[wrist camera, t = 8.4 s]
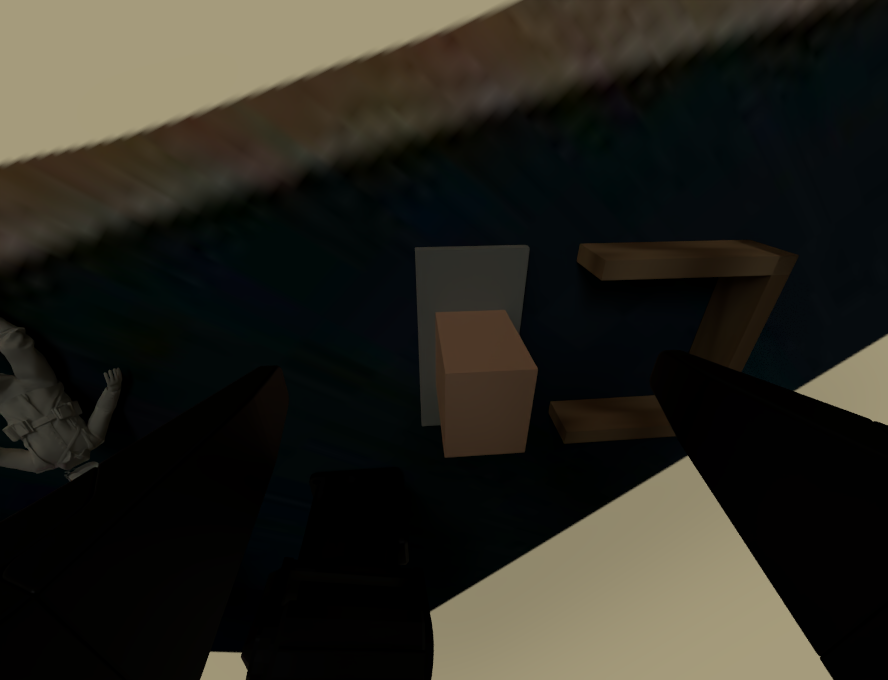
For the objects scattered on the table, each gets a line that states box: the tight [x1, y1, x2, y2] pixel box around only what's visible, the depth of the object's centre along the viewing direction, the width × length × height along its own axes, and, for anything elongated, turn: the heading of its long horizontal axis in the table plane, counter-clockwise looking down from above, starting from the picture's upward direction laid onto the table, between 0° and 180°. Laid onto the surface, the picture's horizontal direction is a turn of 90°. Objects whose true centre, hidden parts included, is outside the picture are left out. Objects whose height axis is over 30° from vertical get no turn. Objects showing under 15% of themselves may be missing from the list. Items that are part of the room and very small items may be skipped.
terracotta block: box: [435, 310, 538, 458], centre depth 19 cm, size 4×5×6 cm
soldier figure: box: [0, 317, 122, 481], centre depth 20 cm, size 8×5×12 cm
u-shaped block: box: [548, 240, 799, 444], centre depth 22 cm, size 10×12×3 cm
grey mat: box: [415, 245, 530, 426], centre depth 22 cm, size 6×12×1 cm, turn 0°
